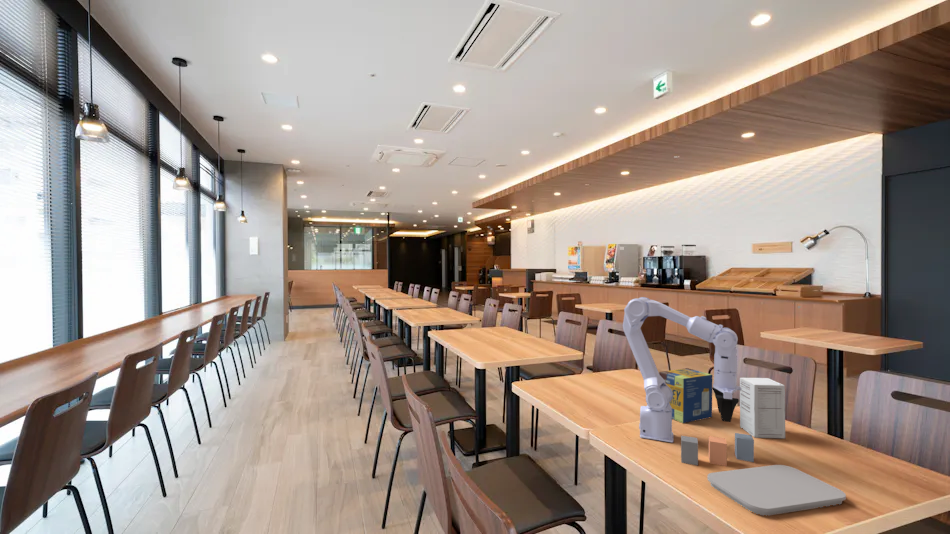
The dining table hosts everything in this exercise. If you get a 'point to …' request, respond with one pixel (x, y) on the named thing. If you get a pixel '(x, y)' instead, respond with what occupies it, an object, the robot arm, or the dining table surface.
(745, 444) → the slate-blue block
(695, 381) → the protein box
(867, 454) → the dining table surface
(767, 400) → the supplement box
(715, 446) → the terracotta block
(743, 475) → the tablet
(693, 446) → the gray block
